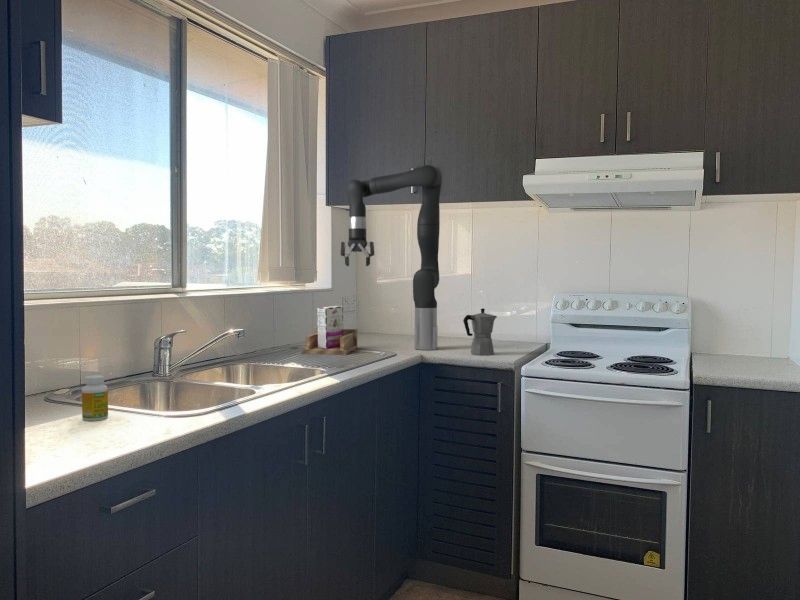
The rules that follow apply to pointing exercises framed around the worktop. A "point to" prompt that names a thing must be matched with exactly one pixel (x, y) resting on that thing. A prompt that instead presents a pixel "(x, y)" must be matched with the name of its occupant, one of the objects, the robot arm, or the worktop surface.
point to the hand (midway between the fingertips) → (357, 266)
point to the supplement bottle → (94, 399)
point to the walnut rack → (346, 346)
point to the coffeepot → (481, 332)
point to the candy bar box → (329, 326)
